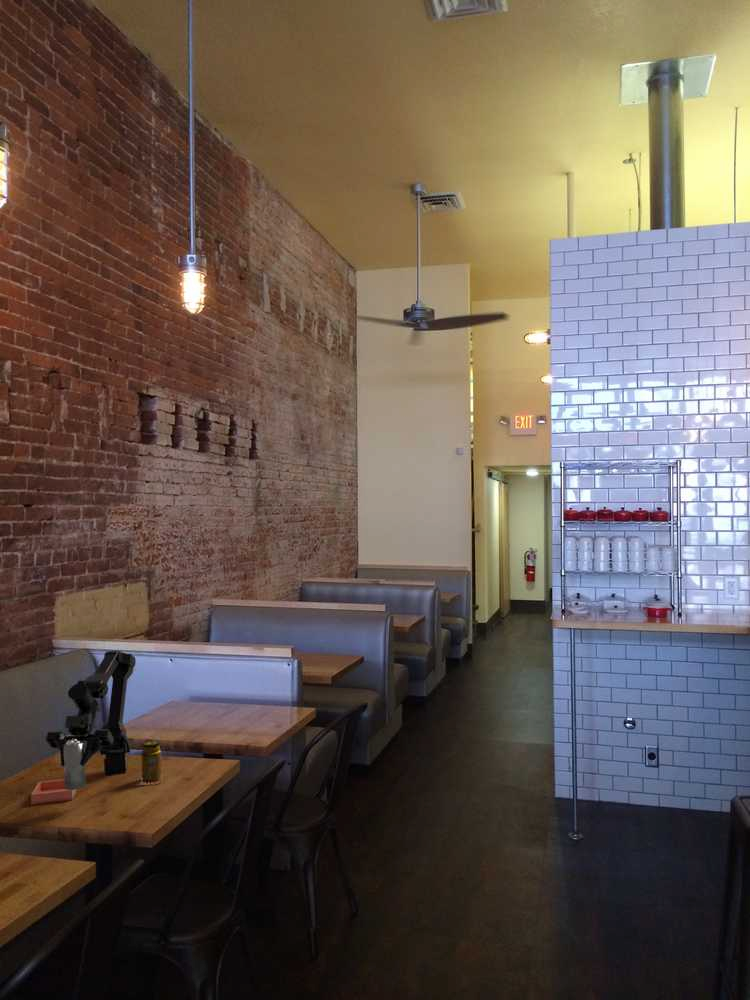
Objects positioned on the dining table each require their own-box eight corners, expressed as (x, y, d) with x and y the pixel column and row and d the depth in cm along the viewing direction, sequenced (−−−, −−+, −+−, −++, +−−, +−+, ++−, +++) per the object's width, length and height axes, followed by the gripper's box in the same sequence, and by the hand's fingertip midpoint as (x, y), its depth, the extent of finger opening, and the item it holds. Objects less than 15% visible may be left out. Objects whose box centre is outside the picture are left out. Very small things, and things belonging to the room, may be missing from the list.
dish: (78, 787, 247) (78, 777, 247) (72, 800, 236) (72, 790, 236) (39, 791, 245) (39, 781, 245) (31, 804, 234) (31, 794, 234)
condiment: (165, 775, 255) (164, 739, 255) (159, 785, 246) (157, 746, 246) (143, 777, 254) (141, 740, 255) (135, 786, 246) (134, 748, 246)
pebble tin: (86, 782, 232) (84, 735, 232) (83, 788, 227) (82, 741, 227) (66, 784, 231) (64, 737, 231) (63, 790, 226) (61, 743, 226)
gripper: (46, 704, 233) (30, 753, 222) (108, 702, 233) (95, 751, 222) (59, 723, 241) (44, 771, 230) (119, 721, 241) (107, 769, 230)
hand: (72, 765), depth 228 cm, fingers closed on pebble tin, 6 cm apart
